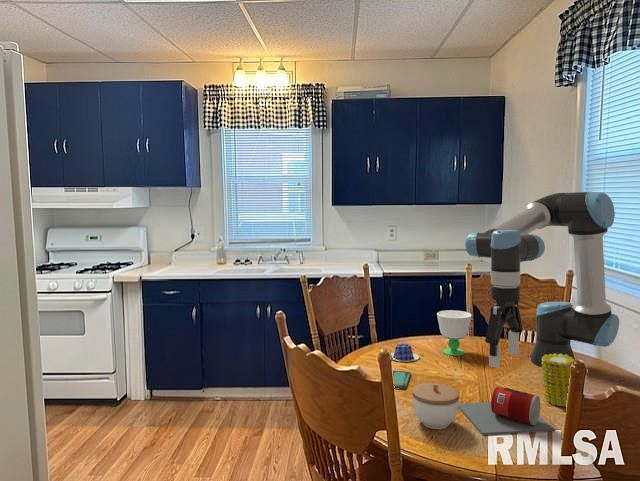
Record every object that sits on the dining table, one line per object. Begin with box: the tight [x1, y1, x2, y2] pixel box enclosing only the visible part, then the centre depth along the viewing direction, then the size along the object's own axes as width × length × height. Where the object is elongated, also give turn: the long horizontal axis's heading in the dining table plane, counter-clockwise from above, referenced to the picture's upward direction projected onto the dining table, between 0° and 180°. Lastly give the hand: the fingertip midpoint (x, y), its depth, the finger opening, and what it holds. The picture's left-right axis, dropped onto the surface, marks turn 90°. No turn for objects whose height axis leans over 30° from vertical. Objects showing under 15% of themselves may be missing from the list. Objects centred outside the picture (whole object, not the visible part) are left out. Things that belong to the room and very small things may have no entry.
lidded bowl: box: [411, 382, 460, 430], centre depth 129 cm, size 13×13×11 cm
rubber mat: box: [458, 401, 556, 436], centre depth 132 cm, size 20×18×1 cm
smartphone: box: [393, 369, 412, 390], centre depth 161 cm, size 7×1×15 cm
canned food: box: [490, 386, 541, 425], centre depth 130 cm, size 8×8×11 cm
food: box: [541, 353, 577, 408], centre depth 142 cm, size 15×12×10 cm
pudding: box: [391, 343, 420, 362], centre depth 185 cm, size 12×12×5 cm
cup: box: [436, 309, 472, 357], centre depth 190 cm, size 14×14×16 cm
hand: (504, 360), depth 131 cm, fingers open, 13 cm apart
